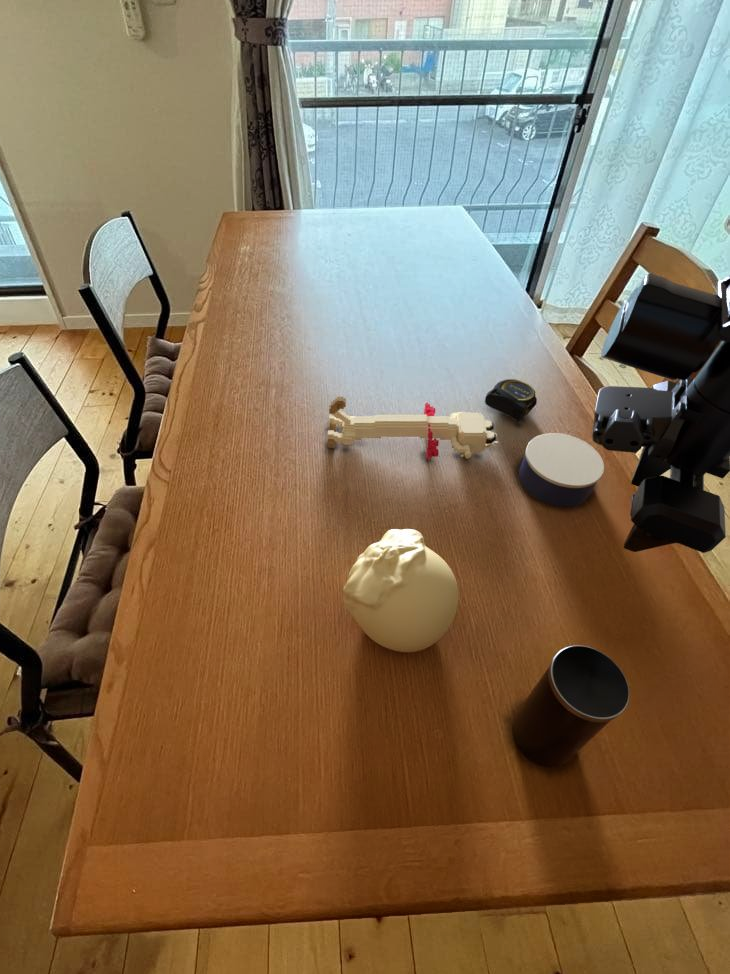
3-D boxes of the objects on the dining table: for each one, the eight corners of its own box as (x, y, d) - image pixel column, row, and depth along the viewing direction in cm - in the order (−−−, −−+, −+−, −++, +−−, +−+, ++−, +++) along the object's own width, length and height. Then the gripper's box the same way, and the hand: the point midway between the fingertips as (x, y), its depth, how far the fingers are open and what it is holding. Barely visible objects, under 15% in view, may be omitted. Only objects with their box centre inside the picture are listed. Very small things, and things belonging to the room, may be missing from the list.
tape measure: (480, 408, 90) (485, 389, 88) (503, 390, 94) (509, 372, 91) (516, 428, 87) (523, 410, 84) (539, 409, 90) (546, 390, 88)
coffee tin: (598, 470, 81) (610, 448, 77) (584, 518, 74) (596, 496, 71) (527, 446, 84) (536, 424, 81) (509, 490, 78) (517, 467, 74)
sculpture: (378, 557, 69) (386, 501, 62) (465, 606, 65) (486, 552, 57) (325, 625, 63) (327, 571, 55) (419, 685, 58) (435, 636, 50)
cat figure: (327, 466, 82) (500, 467, 80) (323, 421, 76) (511, 421, 73) (332, 422, 89) (491, 422, 86) (328, 377, 83) (500, 376, 80)
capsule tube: (580, 722, 56) (635, 665, 46) (567, 781, 52) (624, 733, 43) (520, 692, 58) (560, 632, 48) (503, 747, 54) (543, 694, 45)
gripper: (635, 308, 51) (565, 430, 63) (616, 428, 40) (535, 551, 51) (765, 347, 49) (667, 466, 60) (786, 487, 37) (660, 602, 49)
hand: (632, 515), depth 55 cm, fingers open, 9 cm apart
